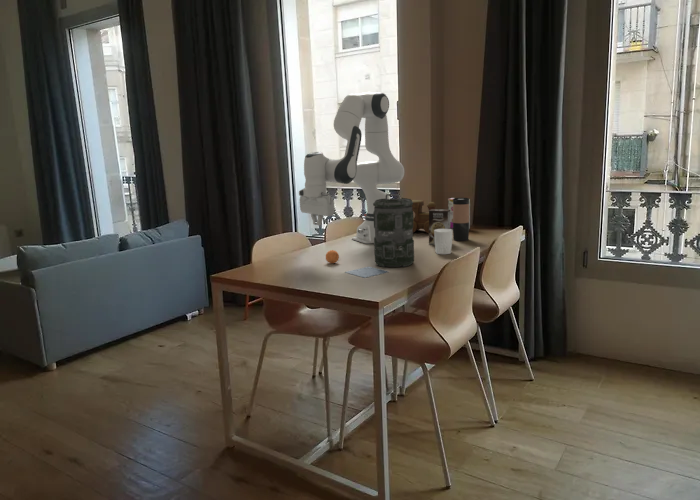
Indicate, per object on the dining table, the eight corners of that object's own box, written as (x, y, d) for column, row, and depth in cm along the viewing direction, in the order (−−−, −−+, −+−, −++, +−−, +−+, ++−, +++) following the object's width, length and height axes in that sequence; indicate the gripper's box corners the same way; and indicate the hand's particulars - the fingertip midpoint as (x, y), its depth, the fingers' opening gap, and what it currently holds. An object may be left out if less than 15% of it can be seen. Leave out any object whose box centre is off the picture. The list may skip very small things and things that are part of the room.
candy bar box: (447, 228, 291) (447, 198, 288) (452, 227, 295) (452, 197, 291) (465, 230, 284) (465, 199, 280) (470, 229, 287) (470, 198, 284)
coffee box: (428, 244, 250) (428, 210, 247) (431, 242, 256) (431, 208, 253) (447, 245, 247) (447, 210, 244) (450, 242, 253) (450, 208, 250)
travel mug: (469, 238, 261) (470, 197, 257) (468, 241, 254) (468, 199, 250) (454, 238, 264) (454, 197, 260) (451, 240, 257) (451, 199, 253)
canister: (422, 262, 215) (421, 193, 210) (397, 270, 204) (395, 197, 199) (392, 257, 226) (390, 191, 221) (366, 264, 215) (364, 195, 210)
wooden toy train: (400, 233, 284) (400, 202, 280) (407, 229, 294) (407, 199, 291) (437, 234, 276) (437, 202, 272) (443, 230, 286) (443, 199, 282)
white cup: (452, 254, 227) (452, 231, 225) (433, 254, 229) (433, 231, 227) (452, 251, 235) (452, 228, 233) (434, 250, 236) (434, 228, 234)
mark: (344, 272, 204) (344, 271, 204) (368, 267, 211) (368, 266, 211) (364, 278, 195) (364, 277, 195) (389, 272, 202) (389, 271, 202)
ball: (323, 263, 221) (322, 250, 219) (334, 261, 224) (333, 248, 223) (331, 265, 216) (330, 252, 215) (341, 263, 220) (341, 250, 219)
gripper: (337, 192, 215) (338, 226, 218) (308, 190, 231) (310, 221, 234) (324, 194, 212) (326, 228, 214) (296, 191, 228) (298, 223, 230)
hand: (317, 224), depth 224 cm, fingers closed
